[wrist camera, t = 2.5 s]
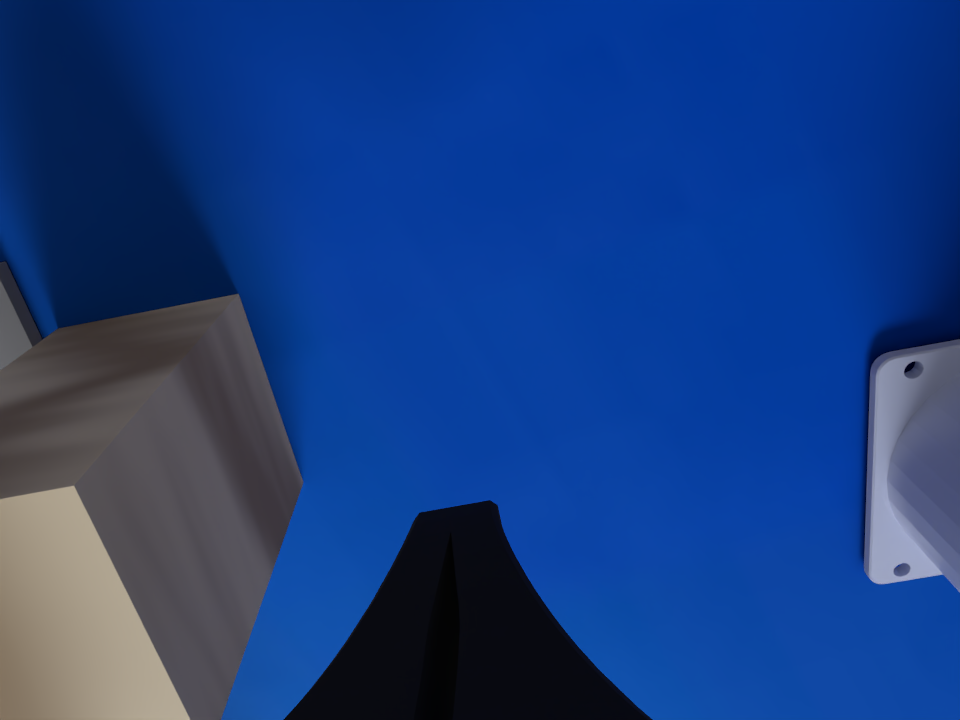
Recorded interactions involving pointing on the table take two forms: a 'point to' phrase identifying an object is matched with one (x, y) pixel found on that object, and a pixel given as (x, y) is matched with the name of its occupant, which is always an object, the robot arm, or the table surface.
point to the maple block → (137, 514)
